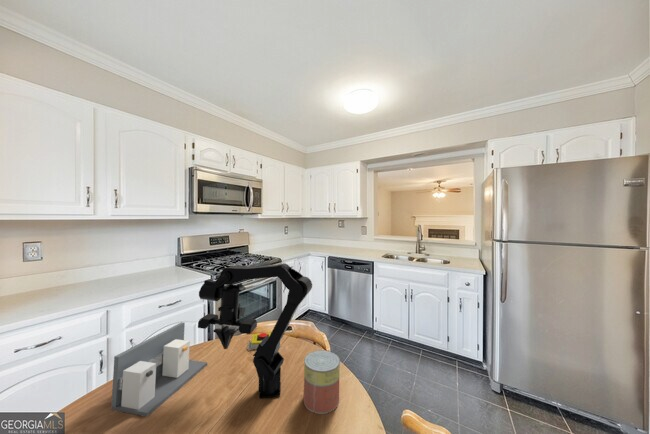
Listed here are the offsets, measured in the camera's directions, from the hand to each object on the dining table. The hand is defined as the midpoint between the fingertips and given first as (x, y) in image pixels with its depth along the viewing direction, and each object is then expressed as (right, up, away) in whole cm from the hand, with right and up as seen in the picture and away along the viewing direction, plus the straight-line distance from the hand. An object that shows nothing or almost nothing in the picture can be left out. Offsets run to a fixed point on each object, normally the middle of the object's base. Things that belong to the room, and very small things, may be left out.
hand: (225, 348), depth 78 cm
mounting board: (-20, -11, -1) cm, 23 cm away
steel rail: (-24, -6, -1) cm, 24 cm away
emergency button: (+6, -14, +27) cm, 31 cm away
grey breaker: (-21, -10, -10) cm, 26 cm away
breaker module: (-19, -10, +3) cm, 22 cm away
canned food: (+33, -12, -7) cm, 36 cm away
